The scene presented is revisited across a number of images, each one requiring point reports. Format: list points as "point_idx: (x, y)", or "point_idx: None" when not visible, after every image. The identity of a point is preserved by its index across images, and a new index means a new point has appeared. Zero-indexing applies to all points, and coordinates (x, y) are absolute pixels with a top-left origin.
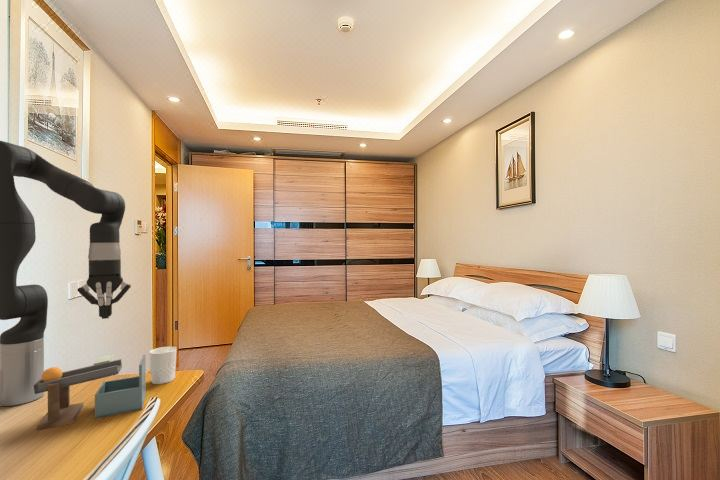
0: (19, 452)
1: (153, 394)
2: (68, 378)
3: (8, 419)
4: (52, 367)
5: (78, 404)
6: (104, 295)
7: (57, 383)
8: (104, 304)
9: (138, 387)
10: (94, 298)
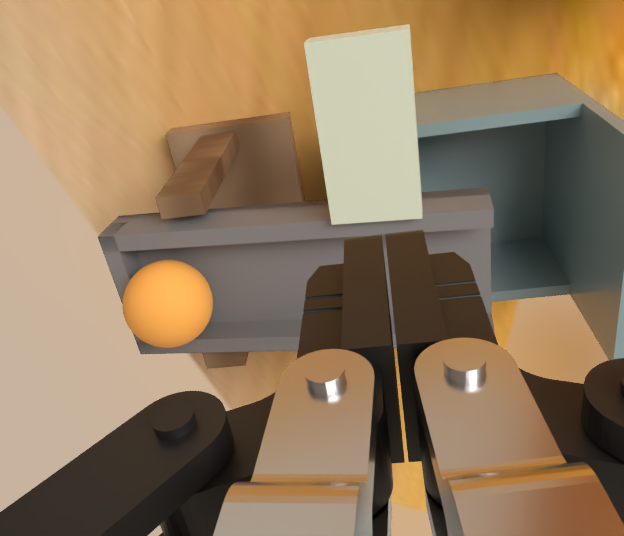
0: (246, 392)
1: (595, 74)
2: (271, 348)
3: (28, 133)
4: (158, 329)
5: (273, 136)
6: (365, 523)
7: (237, 356)
8: (387, 428)
9: (566, 290)
10: (163, 515)
